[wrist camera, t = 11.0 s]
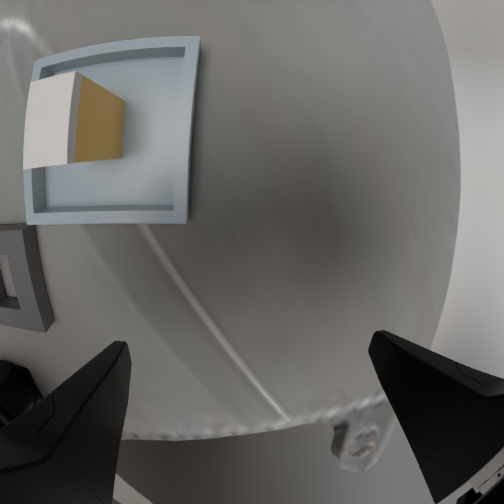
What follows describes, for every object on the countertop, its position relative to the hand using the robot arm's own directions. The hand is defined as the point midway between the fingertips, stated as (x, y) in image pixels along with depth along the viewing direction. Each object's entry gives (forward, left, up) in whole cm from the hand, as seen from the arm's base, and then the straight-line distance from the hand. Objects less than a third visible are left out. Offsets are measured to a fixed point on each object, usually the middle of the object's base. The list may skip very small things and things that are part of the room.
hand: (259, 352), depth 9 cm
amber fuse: (+8, +9, -11) cm, 17 cm away
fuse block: (-3, +20, -12) cm, 23 cm away
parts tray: (+8, +9, -12) cm, 17 cm away
